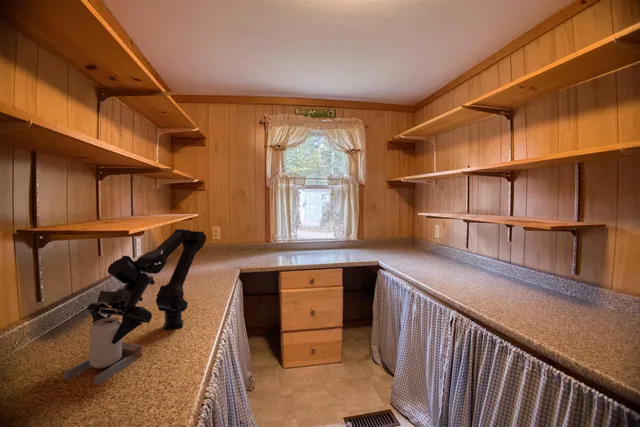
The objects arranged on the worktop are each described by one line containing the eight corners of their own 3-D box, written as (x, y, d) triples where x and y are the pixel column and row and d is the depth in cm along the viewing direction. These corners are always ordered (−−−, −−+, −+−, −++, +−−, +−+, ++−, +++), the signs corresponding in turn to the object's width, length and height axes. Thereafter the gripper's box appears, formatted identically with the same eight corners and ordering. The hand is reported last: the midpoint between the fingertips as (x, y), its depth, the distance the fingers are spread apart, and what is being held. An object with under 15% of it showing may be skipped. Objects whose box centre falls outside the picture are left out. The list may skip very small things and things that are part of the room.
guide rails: (103, 357, 87) (102, 350, 87) (133, 361, 85) (133, 354, 84) (63, 379, 76) (63, 372, 76) (97, 385, 74) (97, 377, 74)
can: (127, 355, 86) (127, 316, 85) (110, 369, 78) (109, 326, 78) (102, 355, 86) (101, 316, 85) (82, 370, 78) (81, 326, 78)
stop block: (112, 352, 90) (111, 341, 90) (141, 356, 87) (141, 345, 87) (103, 357, 87) (102, 345, 87) (133, 361, 85) (133, 350, 84)
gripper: (90, 276, 87) (51, 328, 76) (143, 280, 83) (109, 335, 73) (115, 293, 95) (82, 342, 85) (164, 297, 91) (136, 349, 81)
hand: (101, 342), depth 80 cm, fingers closed on can, 7 cm apart
